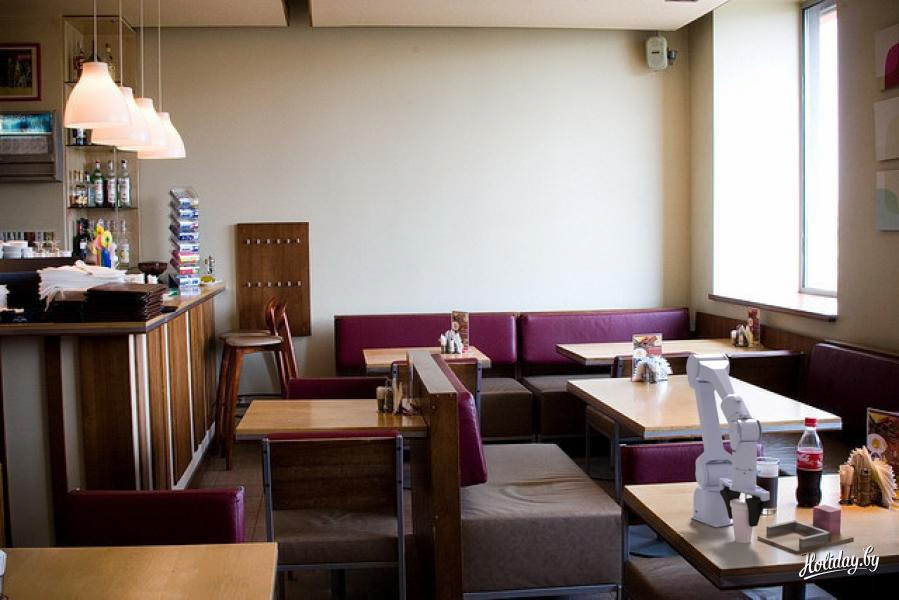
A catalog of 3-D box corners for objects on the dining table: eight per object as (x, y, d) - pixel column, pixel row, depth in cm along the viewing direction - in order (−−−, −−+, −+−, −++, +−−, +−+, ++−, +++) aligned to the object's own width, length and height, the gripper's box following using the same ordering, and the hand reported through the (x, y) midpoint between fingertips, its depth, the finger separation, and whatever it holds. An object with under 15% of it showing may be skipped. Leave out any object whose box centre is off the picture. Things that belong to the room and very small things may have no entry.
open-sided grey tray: (757, 539, 228) (758, 512, 227) (813, 526, 237) (814, 500, 237) (796, 554, 217) (797, 526, 217) (853, 540, 227) (854, 513, 226)
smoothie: (757, 546, 223) (759, 489, 222) (730, 544, 224) (731, 487, 223) (754, 537, 229) (755, 482, 228) (727, 535, 231) (728, 480, 230)
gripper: (710, 463, 230) (709, 516, 231) (755, 476, 217) (753, 533, 218) (731, 459, 233) (730, 512, 234) (776, 472, 221) (775, 528, 222)
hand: (743, 522), depth 227 cm, fingers closed on smoothie, 6 cm apart
